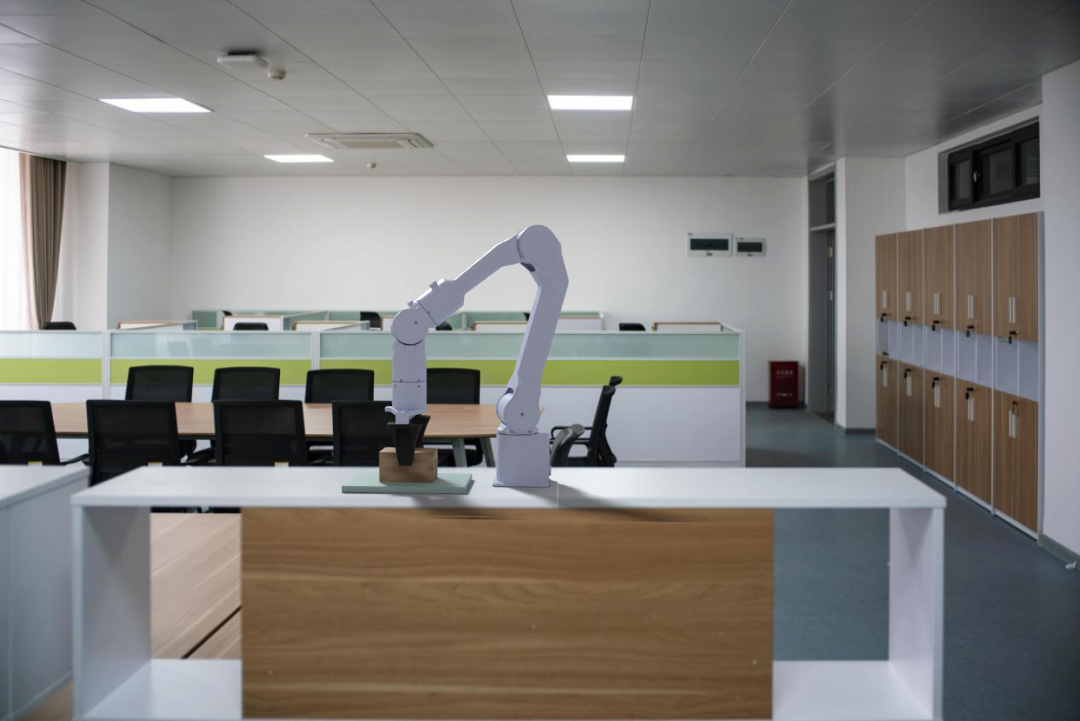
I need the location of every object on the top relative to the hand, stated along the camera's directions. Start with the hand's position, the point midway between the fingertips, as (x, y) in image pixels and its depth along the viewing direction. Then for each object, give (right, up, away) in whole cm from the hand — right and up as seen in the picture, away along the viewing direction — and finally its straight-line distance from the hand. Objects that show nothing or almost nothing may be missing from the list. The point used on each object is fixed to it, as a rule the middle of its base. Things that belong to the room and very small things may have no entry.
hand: (409, 461), depth 150 cm
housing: (0, -3, 0) cm, 3 cm away
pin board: (0, -4, 0) cm, 4 cm away
